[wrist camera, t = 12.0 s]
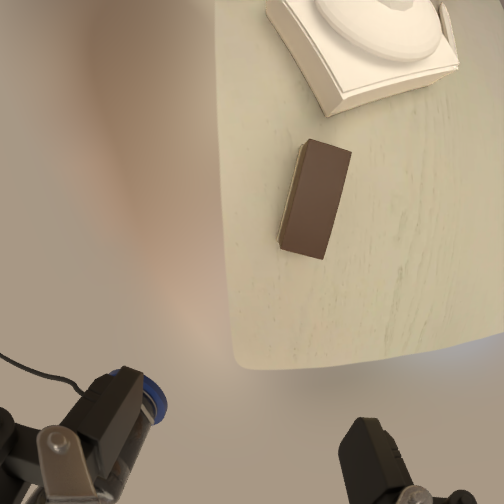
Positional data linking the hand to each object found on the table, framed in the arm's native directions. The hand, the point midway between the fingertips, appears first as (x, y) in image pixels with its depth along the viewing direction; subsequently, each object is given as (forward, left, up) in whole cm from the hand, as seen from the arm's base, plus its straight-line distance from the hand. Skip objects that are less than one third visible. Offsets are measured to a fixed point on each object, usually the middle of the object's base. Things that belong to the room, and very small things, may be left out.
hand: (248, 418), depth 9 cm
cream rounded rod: (+20, +42, -28) cm, 55 cm away
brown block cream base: (+4, +8, -28) cm, 30 cm away
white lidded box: (+5, +31, -28) cm, 42 cm away
